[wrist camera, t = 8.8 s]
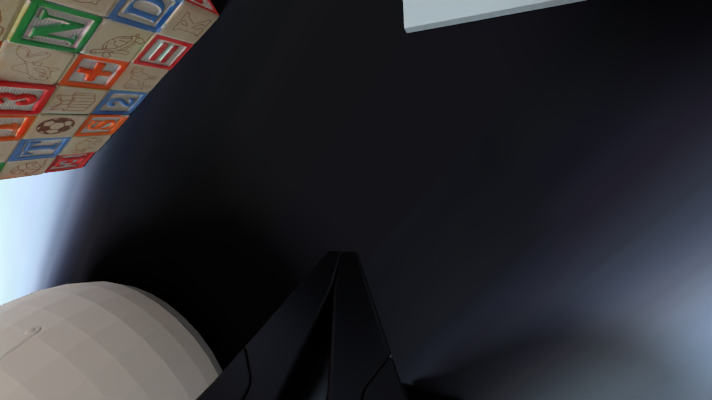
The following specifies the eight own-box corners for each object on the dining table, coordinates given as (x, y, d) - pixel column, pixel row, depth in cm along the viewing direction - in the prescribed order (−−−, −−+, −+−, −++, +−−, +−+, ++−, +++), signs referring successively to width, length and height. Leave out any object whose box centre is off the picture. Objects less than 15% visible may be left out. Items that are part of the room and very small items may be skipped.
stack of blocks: (85, 170, 29) (-155, 205, 17) (47, 113, 28) (-225, 111, 17) (222, 15, 20) (-69, -113, 9) (171, -69, 20) (-204, -314, 9)
